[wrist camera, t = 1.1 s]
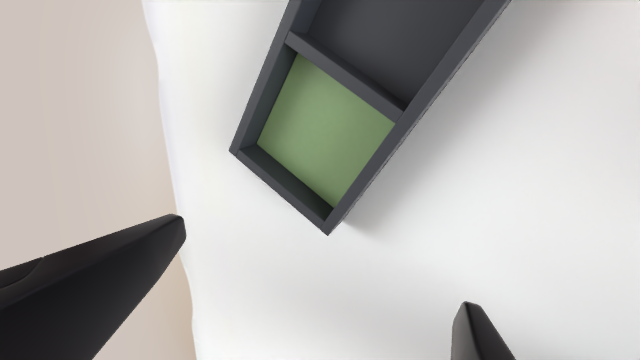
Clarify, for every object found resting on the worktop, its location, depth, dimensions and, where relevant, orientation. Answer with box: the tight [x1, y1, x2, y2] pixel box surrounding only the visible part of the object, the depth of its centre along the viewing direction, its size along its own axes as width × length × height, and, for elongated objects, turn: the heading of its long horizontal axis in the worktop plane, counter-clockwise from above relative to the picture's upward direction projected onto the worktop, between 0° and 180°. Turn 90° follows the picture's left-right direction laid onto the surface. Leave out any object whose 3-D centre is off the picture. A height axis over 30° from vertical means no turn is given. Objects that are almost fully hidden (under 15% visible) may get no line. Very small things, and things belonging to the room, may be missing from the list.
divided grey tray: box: [229, 0, 511, 236], centre depth 19 cm, size 10×19×2 cm, turn 148°
